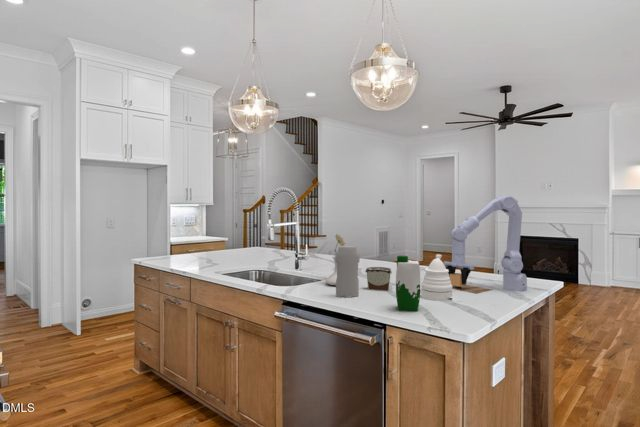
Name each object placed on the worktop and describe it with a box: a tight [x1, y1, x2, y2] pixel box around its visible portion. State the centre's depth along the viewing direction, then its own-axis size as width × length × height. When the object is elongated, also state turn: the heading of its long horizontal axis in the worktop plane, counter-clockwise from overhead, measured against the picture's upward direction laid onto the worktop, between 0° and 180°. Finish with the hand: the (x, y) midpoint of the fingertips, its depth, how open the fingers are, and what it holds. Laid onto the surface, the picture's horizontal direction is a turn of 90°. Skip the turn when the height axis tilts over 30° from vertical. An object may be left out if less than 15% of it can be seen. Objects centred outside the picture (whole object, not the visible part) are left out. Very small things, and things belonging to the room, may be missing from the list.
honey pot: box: [420, 254, 453, 302], centre depth 172 cm, size 13×13×18 cm
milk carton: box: [395, 255, 421, 312], centre depth 153 cm, size 9×9×20 cm
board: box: [452, 284, 494, 295], centre depth 184 cm, size 16×14×1 cm
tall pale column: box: [334, 244, 361, 298], centre depth 173 cm, size 11×4×22 cm, turn 95°
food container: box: [364, 266, 393, 292], centre depth 188 cm, size 12×6×10 cm, turn 71°
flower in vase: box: [325, 233, 346, 286], centre depth 198 cm, size 13×11×25 cm
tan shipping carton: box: [450, 272, 468, 287], centre depth 186 cm, size 5×5×5 cm
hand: (458, 283), depth 186 cm, fingers closed on tan shipping carton, 5 cm apart
